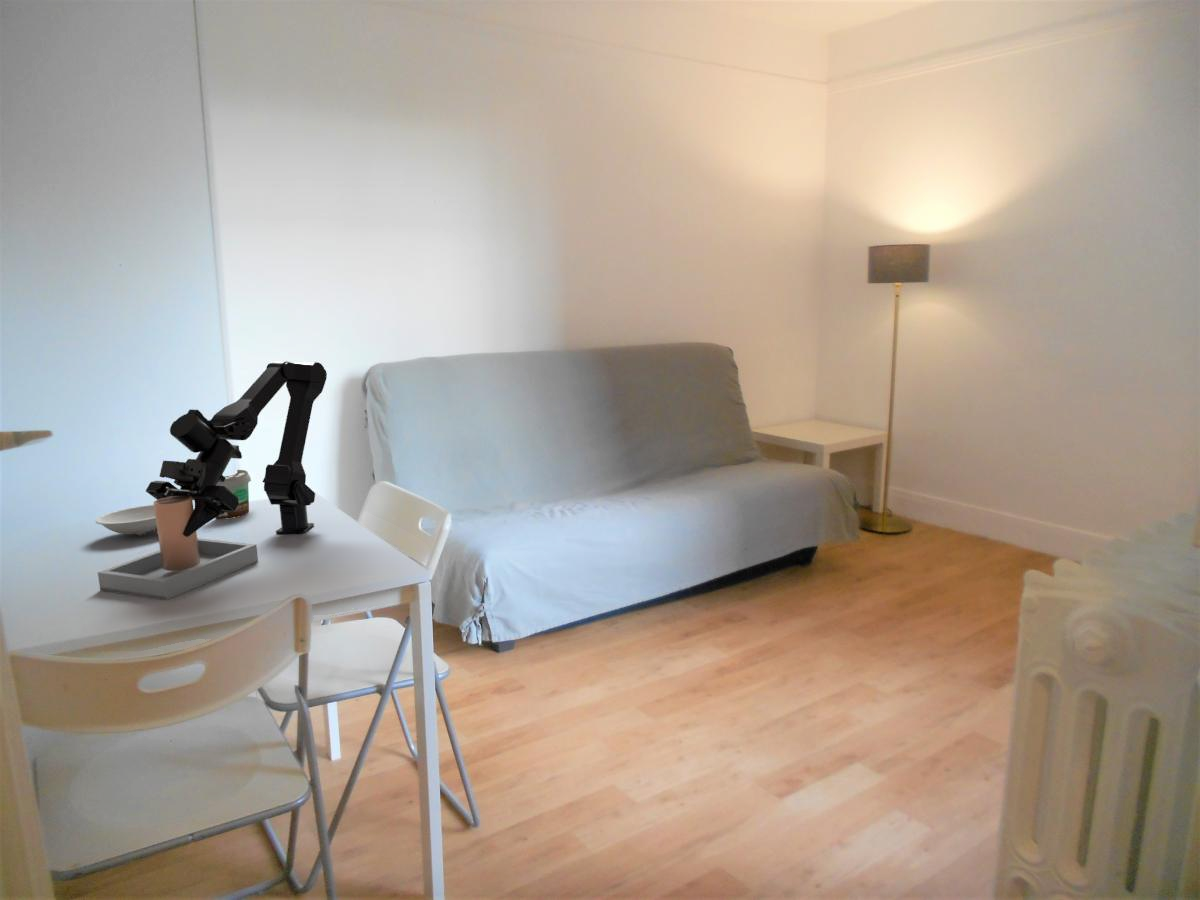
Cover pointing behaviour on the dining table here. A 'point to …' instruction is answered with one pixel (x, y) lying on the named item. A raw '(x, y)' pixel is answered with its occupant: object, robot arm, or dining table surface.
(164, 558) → the cup
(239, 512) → the food container
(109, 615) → the dining table surface
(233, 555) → the tray
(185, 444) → the robot arm
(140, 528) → the dish
